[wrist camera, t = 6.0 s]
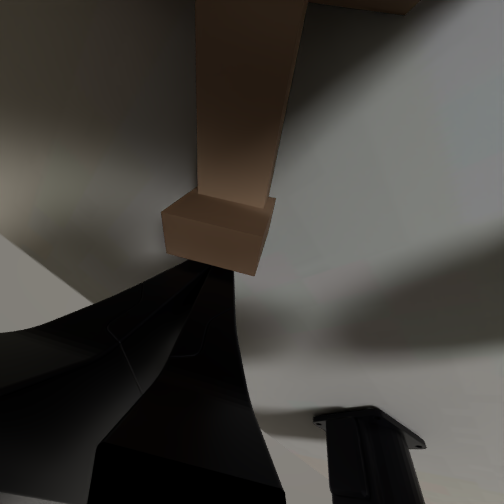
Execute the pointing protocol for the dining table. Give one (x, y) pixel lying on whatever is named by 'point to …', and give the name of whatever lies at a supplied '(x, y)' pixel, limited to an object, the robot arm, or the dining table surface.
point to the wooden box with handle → (241, 124)
